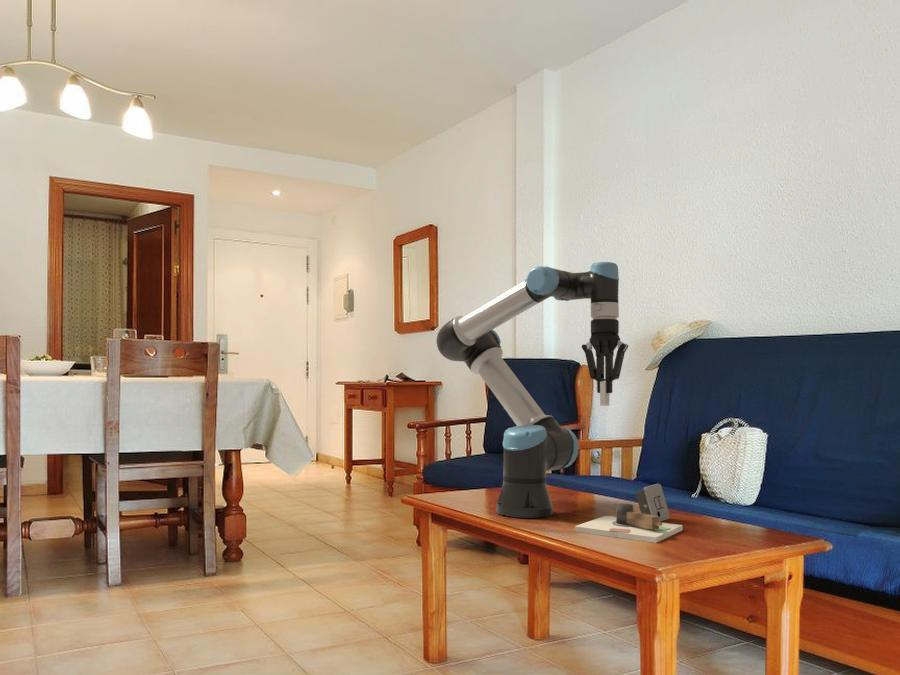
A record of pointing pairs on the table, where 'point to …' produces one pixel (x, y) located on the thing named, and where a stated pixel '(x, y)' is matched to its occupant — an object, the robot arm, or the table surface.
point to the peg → (635, 517)
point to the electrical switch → (653, 502)
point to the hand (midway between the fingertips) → (604, 405)
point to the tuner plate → (627, 530)
